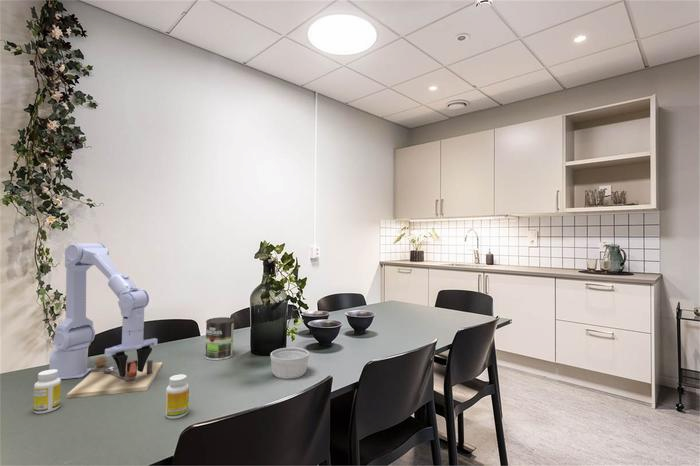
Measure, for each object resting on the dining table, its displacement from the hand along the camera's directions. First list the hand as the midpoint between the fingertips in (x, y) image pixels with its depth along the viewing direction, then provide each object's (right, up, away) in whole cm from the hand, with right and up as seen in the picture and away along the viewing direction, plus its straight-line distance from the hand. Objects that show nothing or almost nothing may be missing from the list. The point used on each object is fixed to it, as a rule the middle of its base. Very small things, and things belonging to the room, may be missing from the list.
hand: (131, 373), depth 109 cm
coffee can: (+17, -5, +28) cm, 33 cm away
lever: (-6, -2, +4) cm, 7 cm away
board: (-6, -3, +3) cm, 8 cm away
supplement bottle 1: (-12, -3, -16) cm, 21 cm away
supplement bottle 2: (+23, -4, -18) cm, 29 cm away
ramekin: (+47, -5, +12) cm, 49 cm away
